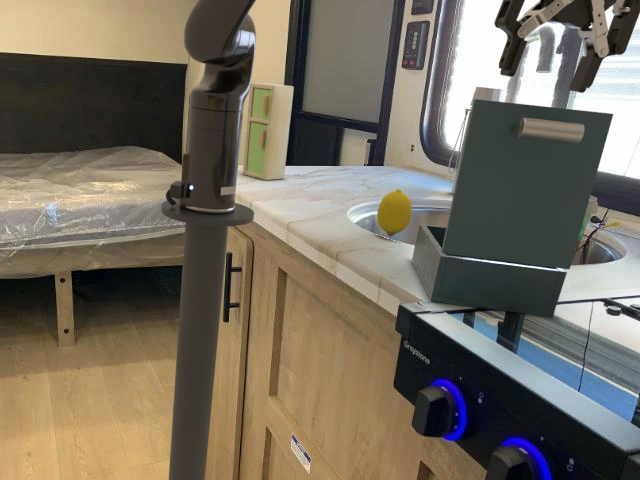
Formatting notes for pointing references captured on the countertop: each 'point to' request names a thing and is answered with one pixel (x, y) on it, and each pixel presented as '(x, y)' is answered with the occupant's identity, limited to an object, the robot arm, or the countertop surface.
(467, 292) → the freezer
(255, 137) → the toy refrigerator
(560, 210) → the freezer lid
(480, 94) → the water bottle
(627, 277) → the countertop surface
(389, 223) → the lemon
